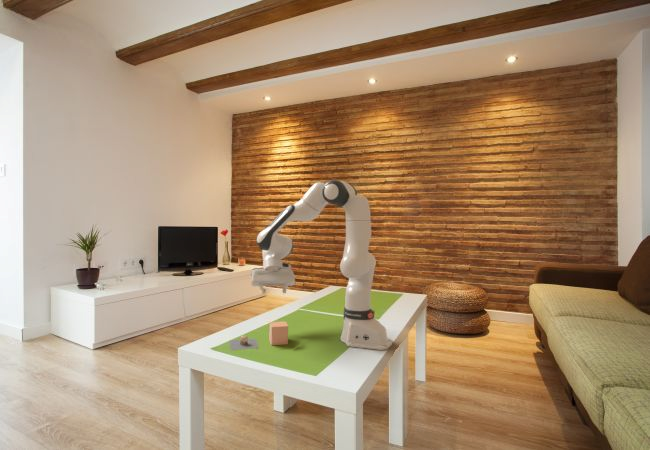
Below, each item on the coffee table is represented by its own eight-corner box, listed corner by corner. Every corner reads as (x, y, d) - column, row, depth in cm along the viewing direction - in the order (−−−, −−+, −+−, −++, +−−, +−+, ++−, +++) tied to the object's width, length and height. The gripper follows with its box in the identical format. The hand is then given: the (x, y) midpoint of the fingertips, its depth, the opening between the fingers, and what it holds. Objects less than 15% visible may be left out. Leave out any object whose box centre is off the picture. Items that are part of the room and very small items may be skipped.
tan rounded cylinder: (249, 343, 145) (249, 336, 145) (244, 345, 142) (244, 338, 142) (243, 342, 146) (243, 335, 146) (238, 344, 144) (238, 337, 144)
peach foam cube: (284, 339, 153) (285, 321, 152) (287, 345, 146) (288, 326, 146) (269, 340, 151) (269, 322, 150) (271, 346, 144) (271, 327, 144)
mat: (256, 339, 151) (256, 338, 151) (258, 349, 141) (258, 347, 141) (229, 341, 148) (229, 340, 148) (230, 351, 138) (230, 349, 138)
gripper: (251, 264, 165) (251, 289, 156) (293, 264, 171) (297, 288, 162) (250, 272, 170) (250, 296, 161) (291, 272, 176) (294, 296, 166)
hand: (274, 292), depth 161 cm, fingers open, 8 cm apart
